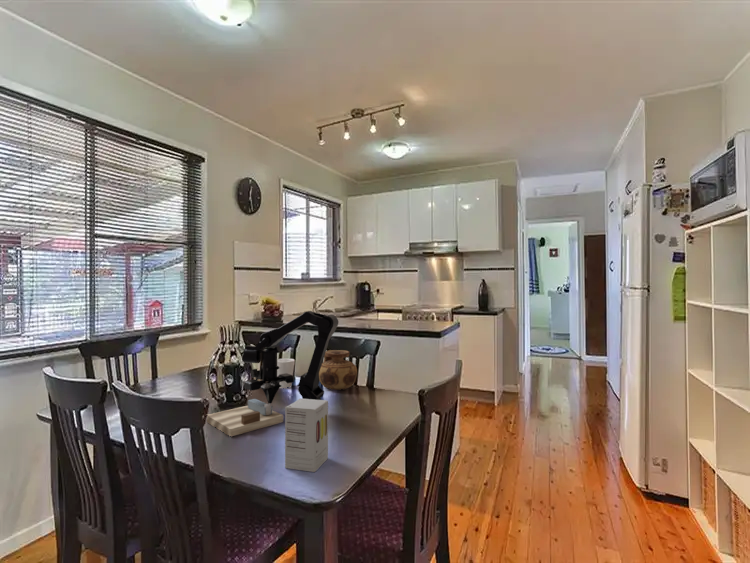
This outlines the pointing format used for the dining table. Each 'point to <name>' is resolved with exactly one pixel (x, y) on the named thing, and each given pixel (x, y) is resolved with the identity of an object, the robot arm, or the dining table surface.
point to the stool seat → (232, 420)
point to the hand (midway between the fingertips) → (269, 403)
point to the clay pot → (337, 370)
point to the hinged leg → (260, 406)
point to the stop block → (250, 417)
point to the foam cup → (285, 369)
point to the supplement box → (306, 434)
